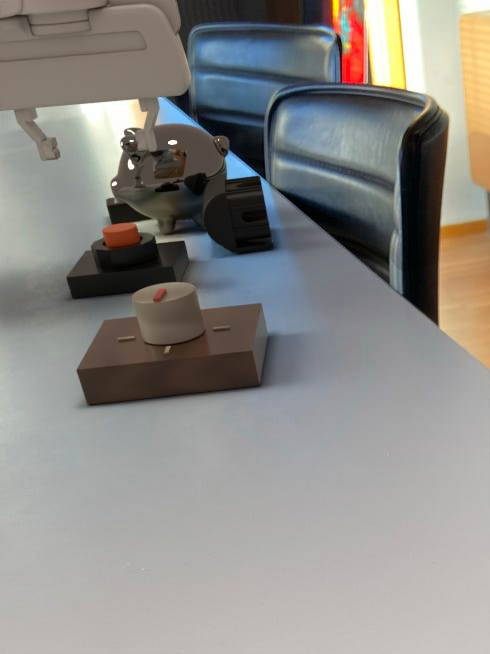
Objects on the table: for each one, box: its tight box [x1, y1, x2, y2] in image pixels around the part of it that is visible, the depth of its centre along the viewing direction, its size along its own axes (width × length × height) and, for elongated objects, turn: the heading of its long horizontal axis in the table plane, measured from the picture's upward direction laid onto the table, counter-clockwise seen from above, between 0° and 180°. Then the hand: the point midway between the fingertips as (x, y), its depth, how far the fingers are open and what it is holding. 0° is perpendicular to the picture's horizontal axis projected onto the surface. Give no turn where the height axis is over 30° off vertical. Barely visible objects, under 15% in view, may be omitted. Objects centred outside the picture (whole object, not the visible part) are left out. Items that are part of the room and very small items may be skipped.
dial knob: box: [131, 281, 205, 345], centre depth 85 cm, size 5×5×4 cm
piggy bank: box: [110, 122, 230, 235], centre depth 124 cm, size 11×15×12 cm
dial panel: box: [75, 302, 269, 406], centre depth 87 cm, size 14×12×3 cm
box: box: [65, 231, 190, 299], centre depth 109 cm, size 11×10×4 cm
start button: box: [101, 222, 141, 247], centre depth 108 cm, size 4×4×2 cm
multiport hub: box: [105, 196, 152, 225], centre depth 133 cm, size 4×11×2 cm, turn 108°
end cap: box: [203, 173, 274, 254], centre depth 117 cm, size 10×7×7 cm
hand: (99, 155), depth 99 cm, fingers open, 8 cm apart
